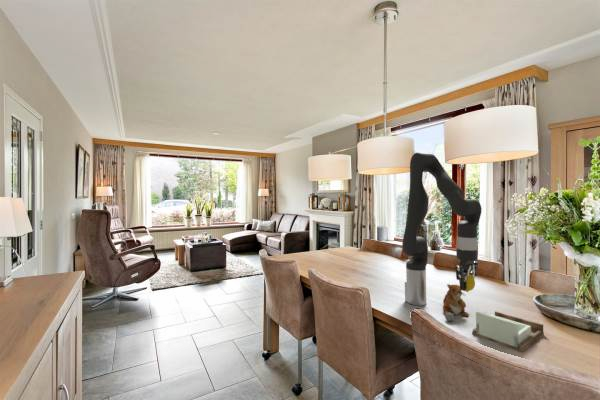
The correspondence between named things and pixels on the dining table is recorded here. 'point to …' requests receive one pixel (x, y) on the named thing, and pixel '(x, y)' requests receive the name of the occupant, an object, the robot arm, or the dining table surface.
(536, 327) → the rail board
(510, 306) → the dining table surface
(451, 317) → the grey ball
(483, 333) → the pale green block
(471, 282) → the lemon
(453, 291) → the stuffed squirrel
